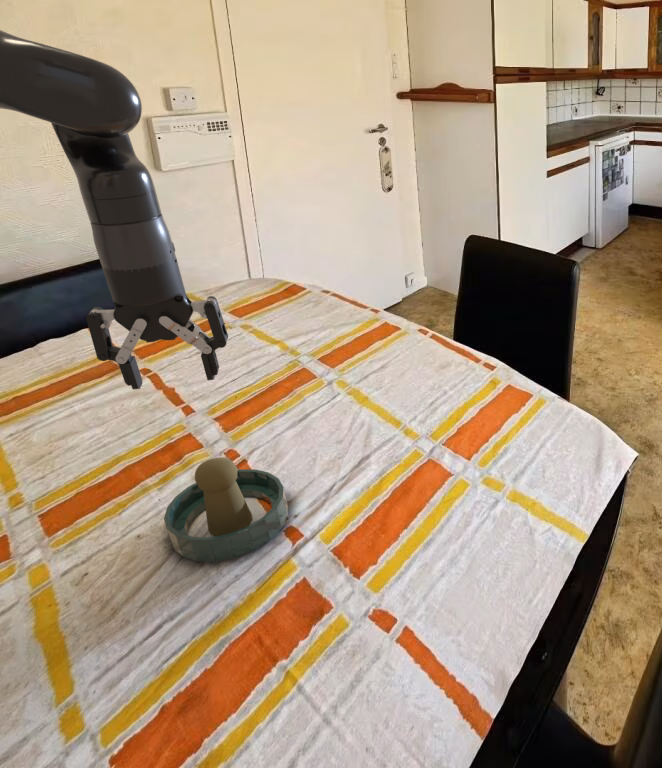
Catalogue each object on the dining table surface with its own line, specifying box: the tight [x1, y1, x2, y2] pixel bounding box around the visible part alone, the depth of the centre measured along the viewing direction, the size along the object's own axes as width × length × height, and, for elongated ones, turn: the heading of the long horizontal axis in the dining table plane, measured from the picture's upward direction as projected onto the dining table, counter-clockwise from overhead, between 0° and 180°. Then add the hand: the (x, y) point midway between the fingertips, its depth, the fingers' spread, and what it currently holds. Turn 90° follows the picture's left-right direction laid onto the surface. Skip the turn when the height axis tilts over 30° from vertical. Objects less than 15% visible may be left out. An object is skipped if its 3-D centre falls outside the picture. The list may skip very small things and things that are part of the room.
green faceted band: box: [163, 468, 289, 562], centre depth 87 cm, size 15×15×5 cm
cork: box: [194, 456, 253, 537], centre depth 85 cm, size 6×6×11 cm
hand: (175, 381), depth 79 cm, fingers open, 8 cm apart
